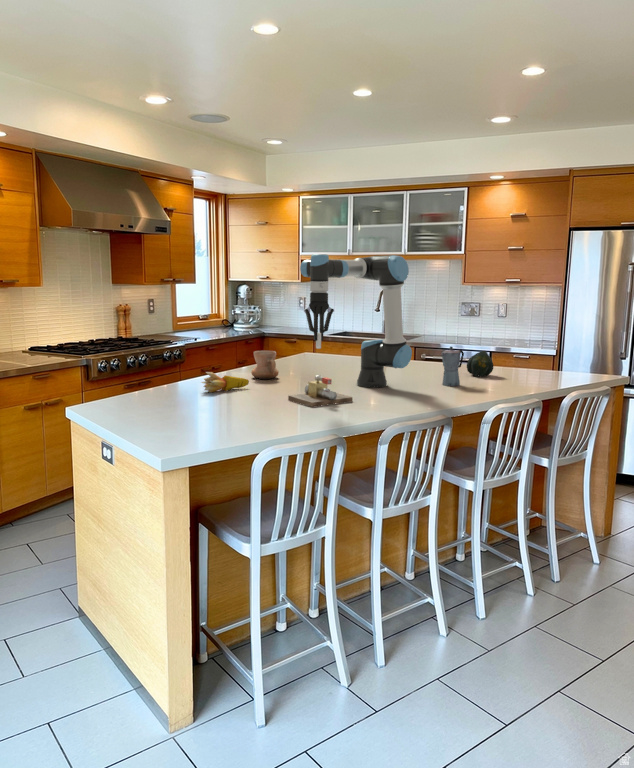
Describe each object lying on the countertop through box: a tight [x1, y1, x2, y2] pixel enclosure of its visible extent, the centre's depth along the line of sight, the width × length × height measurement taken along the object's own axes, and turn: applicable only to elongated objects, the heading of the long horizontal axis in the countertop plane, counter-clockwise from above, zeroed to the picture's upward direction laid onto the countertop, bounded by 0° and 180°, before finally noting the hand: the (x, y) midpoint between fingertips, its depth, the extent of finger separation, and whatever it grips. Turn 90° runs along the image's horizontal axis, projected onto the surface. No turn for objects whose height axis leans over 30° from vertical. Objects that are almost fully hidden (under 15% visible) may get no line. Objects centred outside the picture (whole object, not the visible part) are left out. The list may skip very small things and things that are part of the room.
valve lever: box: [314, 374, 332, 386], centre depth 270 cm, size 12×3×2 cm, turn 26°
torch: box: [200, 371, 250, 393], centre depth 295 cm, size 8×8×25 cm
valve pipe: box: [304, 380, 337, 400], centre depth 273 cm, size 6×19×7 cm, turn 36°
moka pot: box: [441, 346, 465, 387], centre depth 318 cm, size 10×15×20 cm, turn 127°
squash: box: [466, 350, 494, 377], centre depth 350 cm, size 14×15×15 cm
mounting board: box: [287, 392, 353, 408], centre depth 274 cm, size 22×18×2 cm
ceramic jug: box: [251, 350, 279, 380], centre depth 330 cm, size 18×14×14 cm
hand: (318, 348), depth 262 cm, fingers closed
